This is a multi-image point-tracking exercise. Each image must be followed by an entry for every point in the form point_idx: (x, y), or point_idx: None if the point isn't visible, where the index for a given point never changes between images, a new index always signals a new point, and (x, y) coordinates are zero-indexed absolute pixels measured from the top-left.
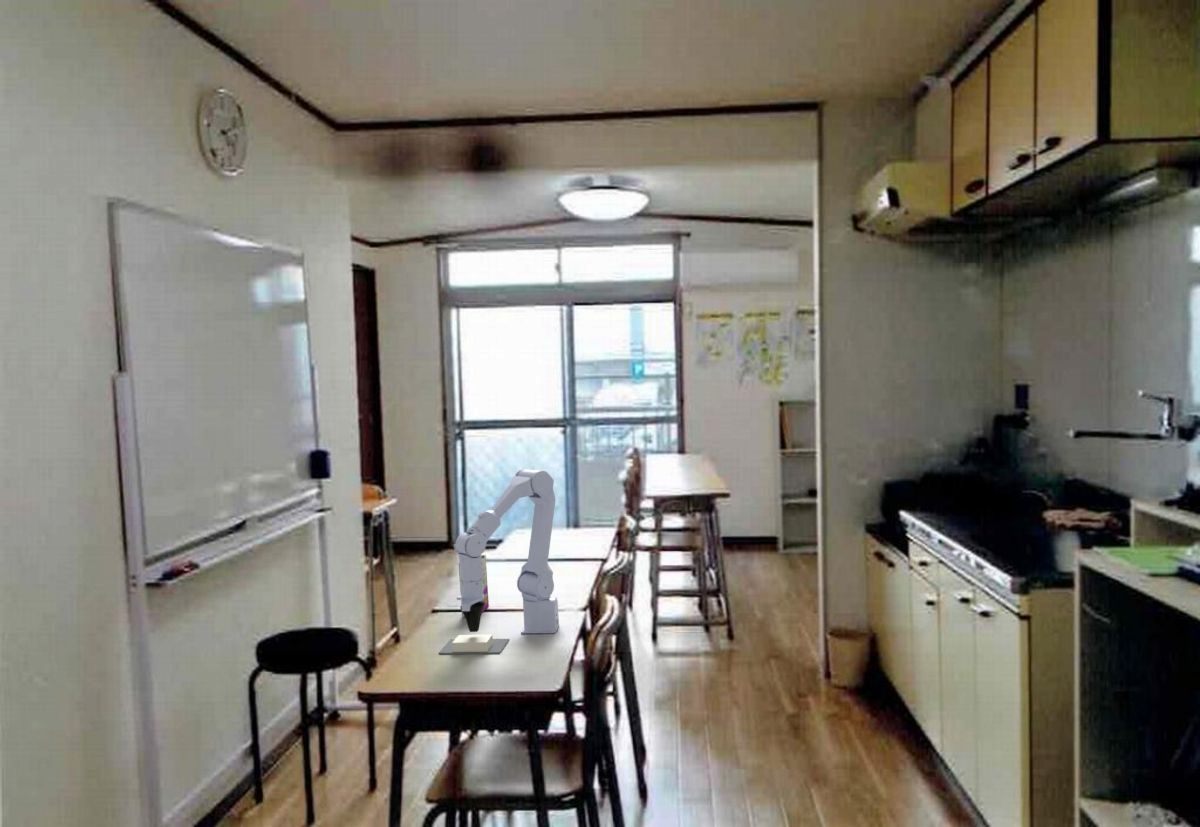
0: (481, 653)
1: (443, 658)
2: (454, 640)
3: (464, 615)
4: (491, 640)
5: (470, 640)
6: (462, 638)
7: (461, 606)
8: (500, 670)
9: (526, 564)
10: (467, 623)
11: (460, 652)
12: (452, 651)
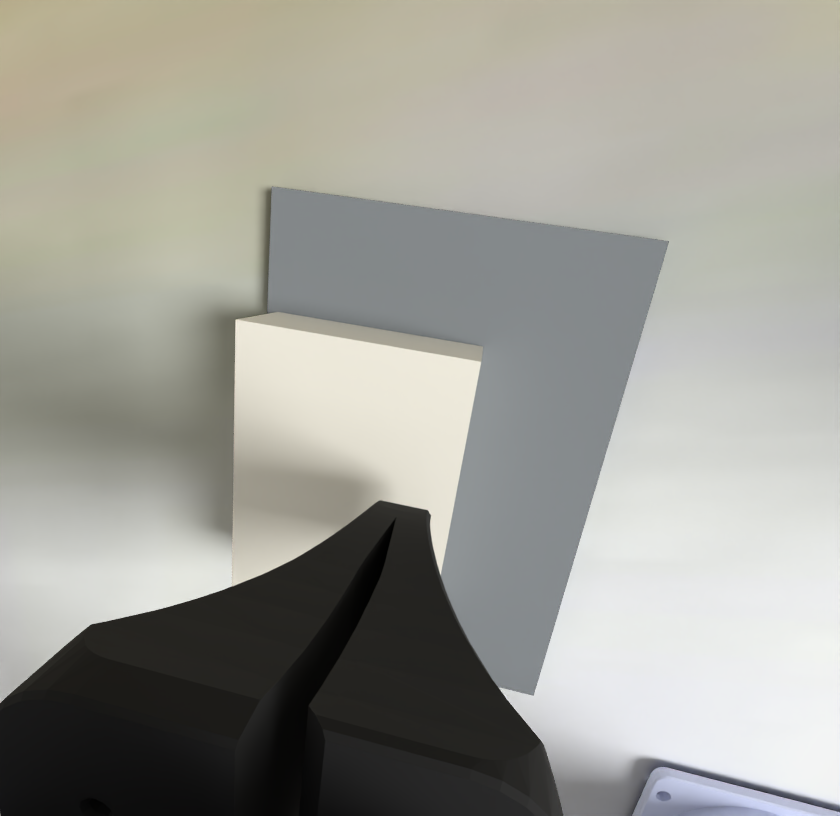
0: None
1: (184, 248)
2: (299, 336)
3: (228, 589)
4: None
5: (289, 482)
6: (353, 409)
7: (31, 719)
8: (10, 602)
9: None
10: (332, 536)
11: None
12: (293, 309)
